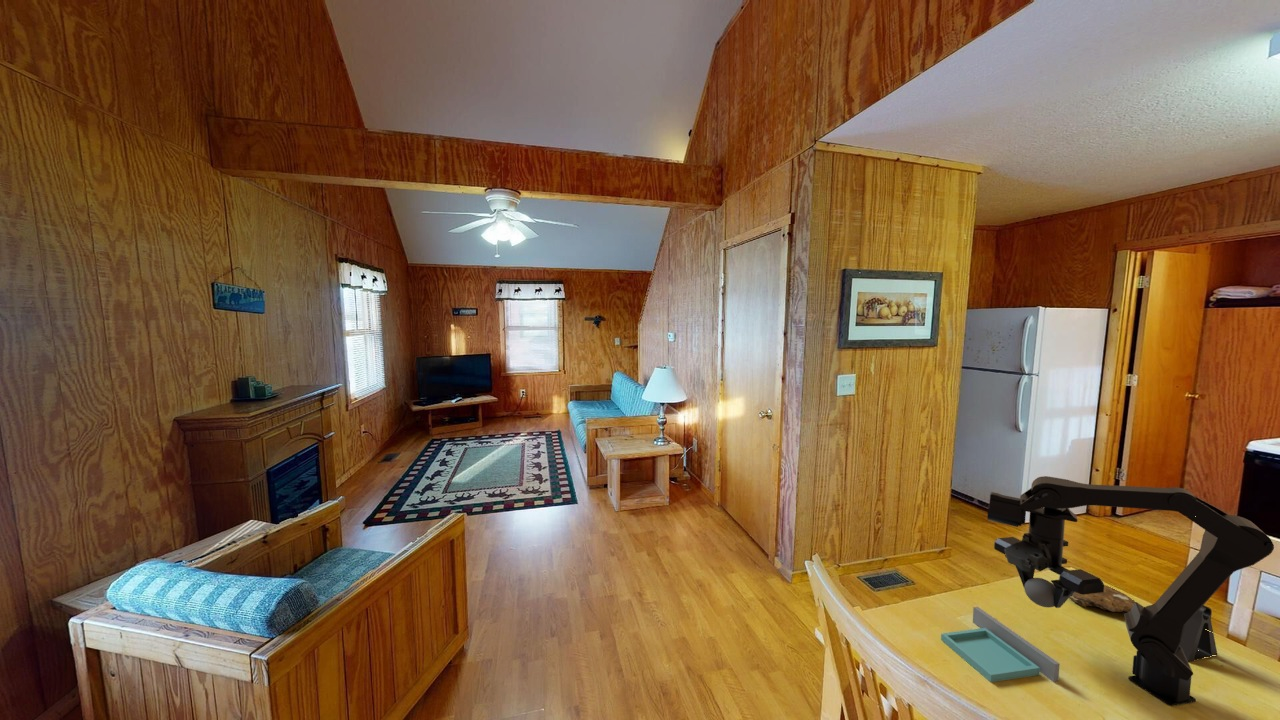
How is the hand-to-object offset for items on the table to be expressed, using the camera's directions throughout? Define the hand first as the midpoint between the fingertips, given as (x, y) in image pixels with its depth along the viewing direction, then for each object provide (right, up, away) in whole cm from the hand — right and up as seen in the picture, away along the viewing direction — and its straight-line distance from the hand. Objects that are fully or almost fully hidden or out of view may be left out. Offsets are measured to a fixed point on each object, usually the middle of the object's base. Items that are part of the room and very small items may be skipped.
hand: (1041, 598), depth 95 cm
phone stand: (+32, -11, -1) cm, 34 cm away
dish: (-15, -12, -2) cm, 19 cm away
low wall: (-7, -12, 0) cm, 14 cm away
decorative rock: (+30, -11, +15) cm, 35 cm away
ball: (0, +1, 0) cm, 2 cm away
